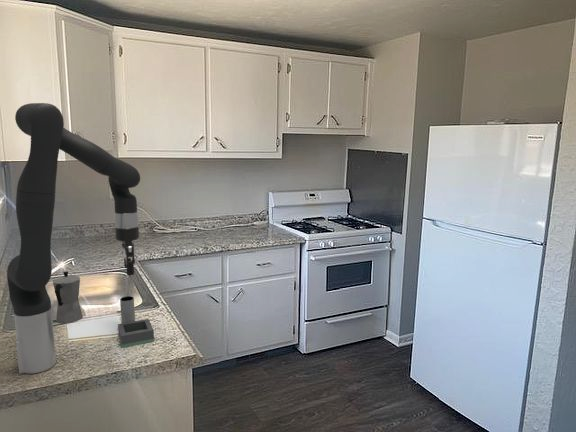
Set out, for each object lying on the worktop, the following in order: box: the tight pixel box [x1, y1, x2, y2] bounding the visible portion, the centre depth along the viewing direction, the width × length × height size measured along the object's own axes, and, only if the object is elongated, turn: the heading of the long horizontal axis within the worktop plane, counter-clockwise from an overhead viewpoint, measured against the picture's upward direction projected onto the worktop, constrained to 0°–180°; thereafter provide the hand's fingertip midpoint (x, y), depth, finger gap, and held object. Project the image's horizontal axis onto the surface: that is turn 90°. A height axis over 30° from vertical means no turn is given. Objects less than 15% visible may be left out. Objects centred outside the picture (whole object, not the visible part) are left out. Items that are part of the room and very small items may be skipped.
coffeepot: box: [52, 270, 83, 324], centre depth 156 cm, size 15×9×18 cm, turn 6°
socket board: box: [117, 318, 155, 348], centre depth 143 cm, size 10×10×4 cm
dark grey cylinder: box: [119, 295, 136, 323], centre depth 152 cm, size 4×4×10 cm
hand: (129, 271), depth 148 cm, fingers open, 8 cm apart
